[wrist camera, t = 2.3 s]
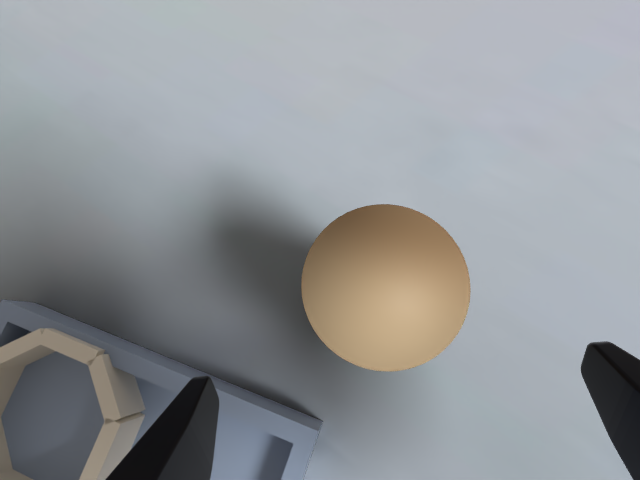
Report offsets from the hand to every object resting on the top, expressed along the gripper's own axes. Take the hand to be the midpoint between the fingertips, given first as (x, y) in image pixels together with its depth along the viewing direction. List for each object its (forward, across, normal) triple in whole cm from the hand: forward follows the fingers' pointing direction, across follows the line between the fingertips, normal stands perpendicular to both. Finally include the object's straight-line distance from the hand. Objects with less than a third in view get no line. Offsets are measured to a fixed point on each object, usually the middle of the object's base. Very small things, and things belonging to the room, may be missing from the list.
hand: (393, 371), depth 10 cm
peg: (+8, 0, +5) cm, 10 cm away
